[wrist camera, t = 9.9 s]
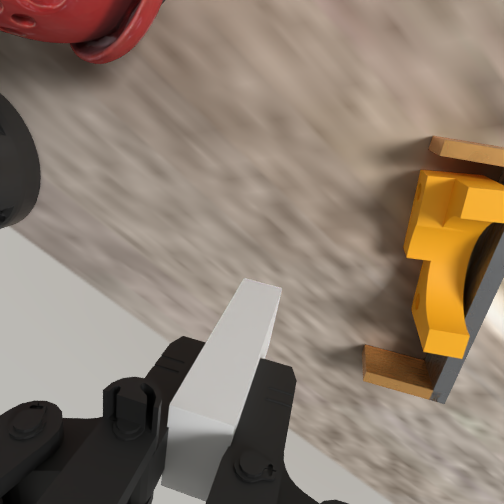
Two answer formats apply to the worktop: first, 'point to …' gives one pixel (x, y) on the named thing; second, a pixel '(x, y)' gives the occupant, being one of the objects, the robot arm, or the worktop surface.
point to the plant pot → (82, 24)
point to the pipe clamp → (447, 251)
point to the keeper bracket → (474, 299)
